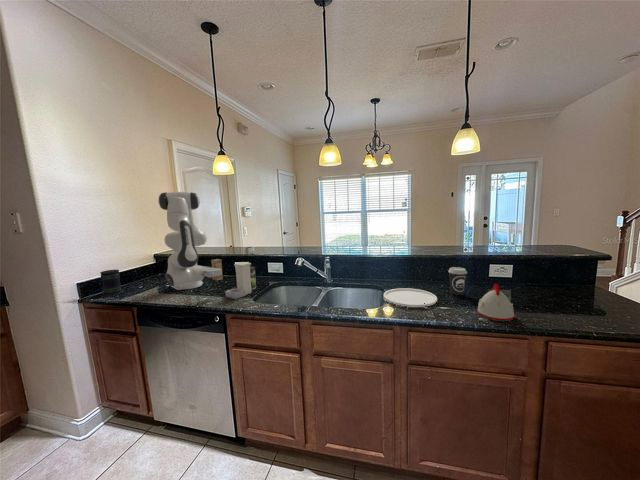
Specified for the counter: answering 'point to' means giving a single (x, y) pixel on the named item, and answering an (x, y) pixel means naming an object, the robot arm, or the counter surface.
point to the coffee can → (252, 277)
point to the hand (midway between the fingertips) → (218, 268)
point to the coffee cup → (457, 280)
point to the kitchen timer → (496, 305)
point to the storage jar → (110, 282)
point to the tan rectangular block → (217, 264)
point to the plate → (410, 297)
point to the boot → (241, 281)
